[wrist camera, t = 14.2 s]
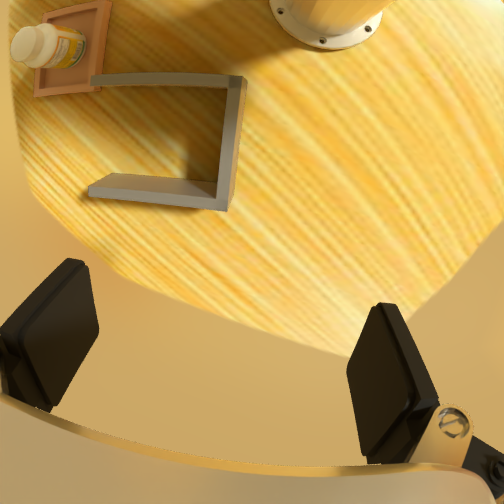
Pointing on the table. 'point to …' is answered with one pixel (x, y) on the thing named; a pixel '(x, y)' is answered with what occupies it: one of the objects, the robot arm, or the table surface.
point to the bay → (174, 188)
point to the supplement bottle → (48, 46)
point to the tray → (95, 31)
